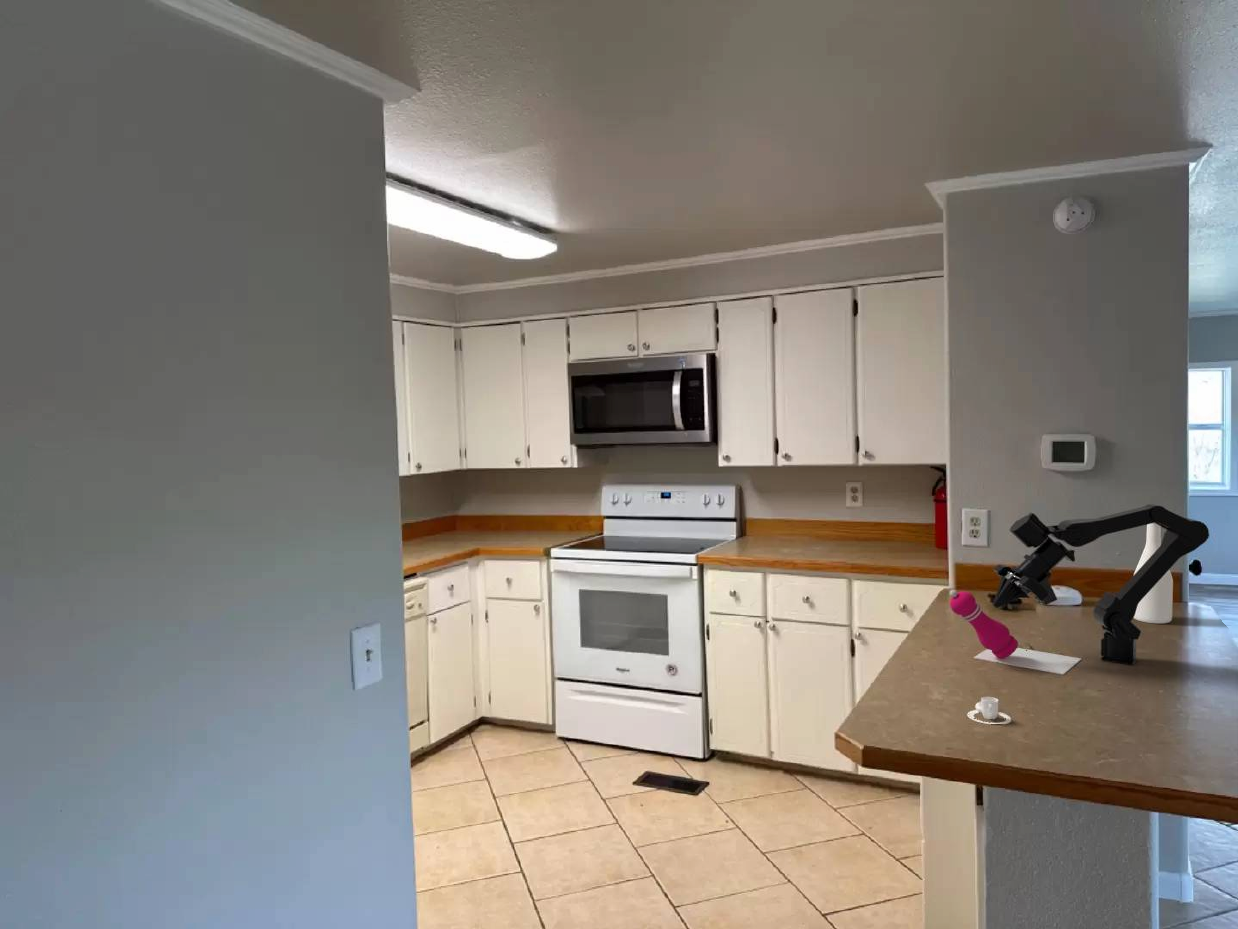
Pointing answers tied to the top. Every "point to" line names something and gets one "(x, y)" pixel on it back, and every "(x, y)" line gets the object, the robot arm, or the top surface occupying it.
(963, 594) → the pepper mill
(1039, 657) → the rubber mat
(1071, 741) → the top surface
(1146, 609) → the wine bottle
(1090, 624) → the top surface
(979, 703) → the teacup and saucer
